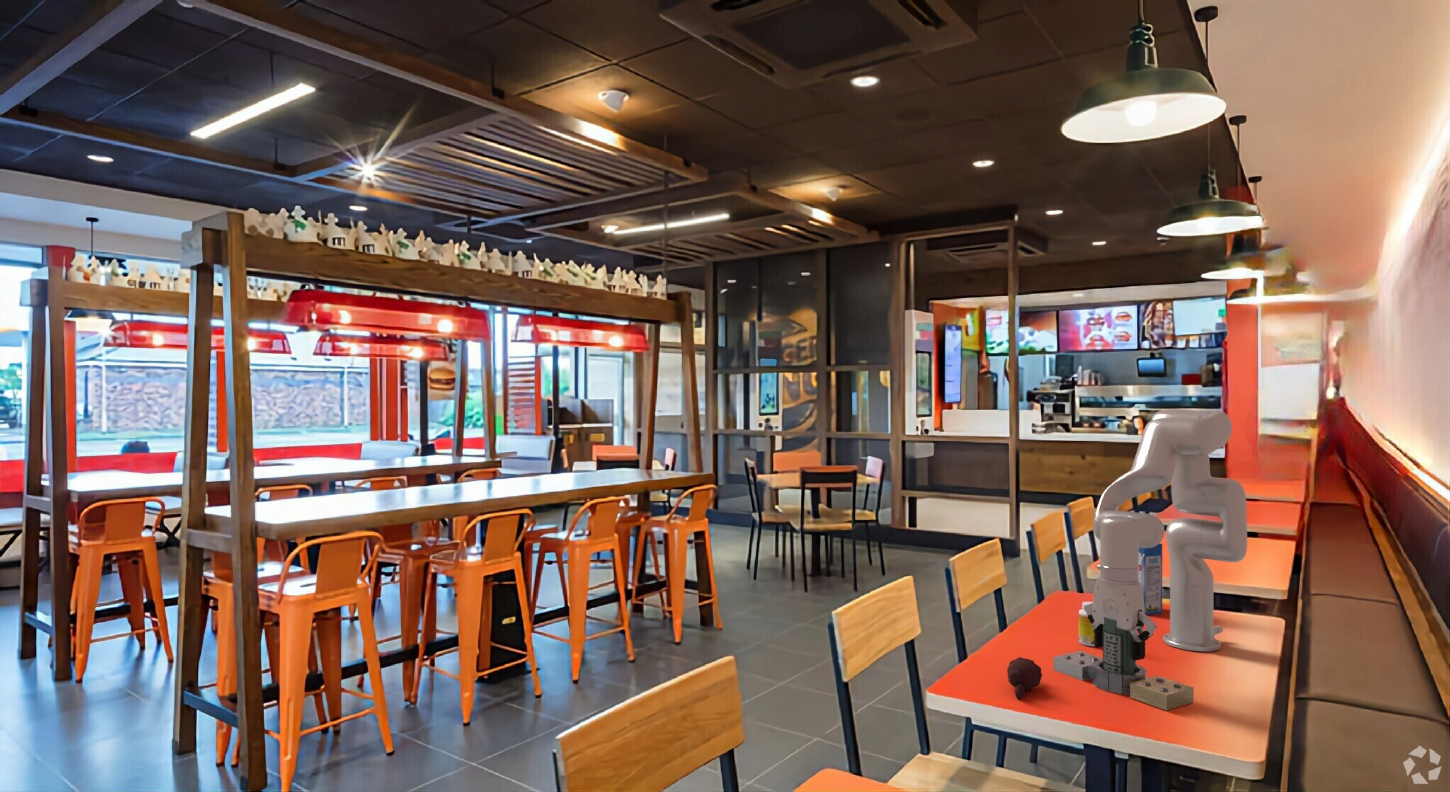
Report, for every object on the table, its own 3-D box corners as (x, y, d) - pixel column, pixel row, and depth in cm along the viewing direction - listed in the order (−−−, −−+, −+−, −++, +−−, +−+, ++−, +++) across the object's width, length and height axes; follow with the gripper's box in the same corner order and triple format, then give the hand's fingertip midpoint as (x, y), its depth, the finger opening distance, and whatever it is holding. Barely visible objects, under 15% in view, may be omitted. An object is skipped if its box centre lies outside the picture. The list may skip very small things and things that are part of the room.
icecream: (1011, 646, 187) (992, 671, 175) (1044, 644, 183) (1027, 669, 171) (1020, 677, 187) (1001, 704, 174) (1053, 675, 183) (1036, 702, 170)
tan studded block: (1157, 689, 177) (1157, 674, 177) (1193, 701, 170) (1193, 686, 170) (1130, 697, 173) (1130, 681, 173) (1166, 710, 166) (1166, 694, 166)
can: (1140, 686, 179) (1140, 617, 179) (1124, 692, 176) (1123, 622, 176) (1114, 677, 184) (1114, 611, 184) (1098, 683, 181) (1097, 615, 181)
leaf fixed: (1082, 663, 195) (1082, 646, 195) (1156, 689, 178) (1156, 670, 178) (1051, 670, 190) (1051, 652, 190) (1124, 697, 173) (1124, 678, 173)
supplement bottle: (1094, 648, 205) (1094, 607, 205) (1073, 642, 210) (1074, 602, 210) (1107, 644, 208) (1107, 604, 208) (1086, 639, 213) (1087, 599, 213)
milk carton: (1162, 613, 236) (1162, 543, 236) (1144, 615, 235) (1144, 545, 234) (1136, 604, 246) (1136, 537, 246) (1118, 606, 244) (1118, 538, 244)
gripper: (1074, 567, 186) (1074, 644, 186) (1143, 584, 170) (1143, 667, 171) (1097, 564, 189) (1097, 639, 189) (1167, 580, 174) (1167, 662, 174)
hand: (1119, 652), depth 180 cm, fingers open, 9 cm apart
